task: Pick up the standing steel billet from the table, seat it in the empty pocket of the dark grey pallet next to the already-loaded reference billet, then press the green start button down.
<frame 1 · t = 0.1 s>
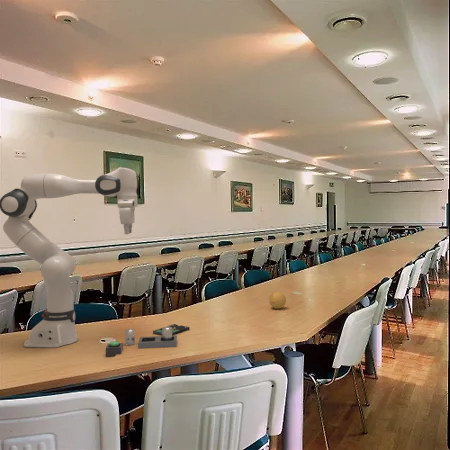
hand: (128, 233, 196), 48 cm above the table, tool pointing down, fingers open, 8 cm apart
reference billet: (167, 343, 186), point 1 cm above the table, touching pallet
start button: (114, 343, 176), point 4 cm above the table, slide at 0.0 cm
button housing: (114, 353, 176), on the table
billet: (130, 345, 187), on the table
stress ball: (277, 309, 253), on the table
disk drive: (171, 334, 205), on the table
pallet: (158, 346, 186), on the table
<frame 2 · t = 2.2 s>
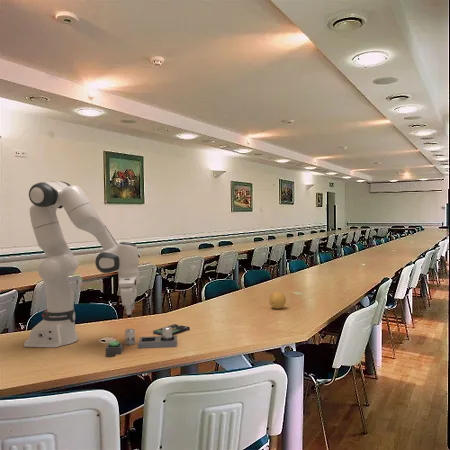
hand: (130, 311, 186), 15 cm above the table, tool pointing down, fingers open, 8 cm apart
nothing on the table moved.
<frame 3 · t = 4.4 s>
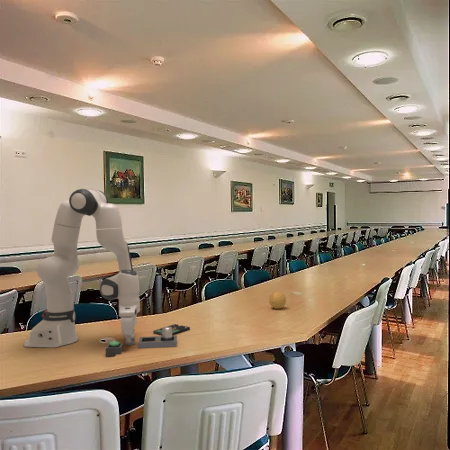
hand: (130, 339, 187), 3 cm above the table, tool pointing down, fingers closed on billet, 4 cm apart
billet: (130, 345, 187), on the table, touching gripper
everything else where it was.
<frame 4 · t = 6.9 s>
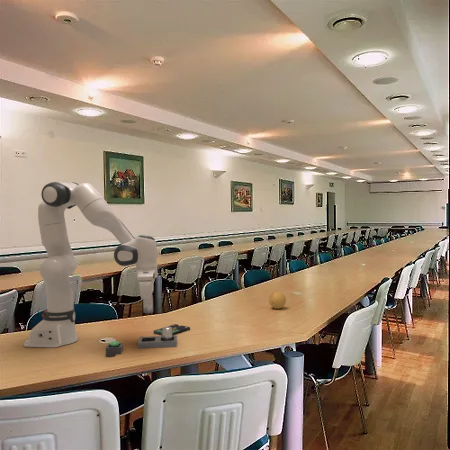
hand: (147, 305, 185), 18 cm above the table, tool pointing down, fingers closed on billet, 4 cm apart
billet: (148, 311, 185), point 15 cm above the table, touching gripper
everything else where it was.
when the fingers open (5 cm above the table, at t = 9.8 s): billet drops 1 cm, resting on pallet.
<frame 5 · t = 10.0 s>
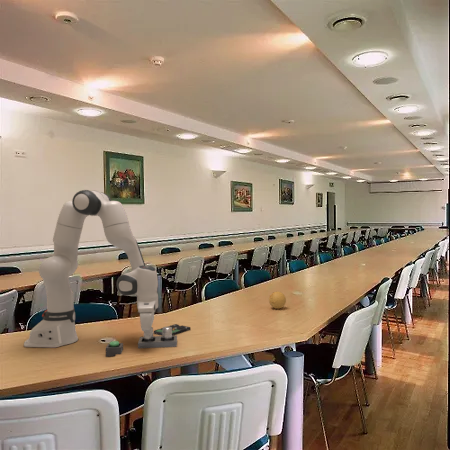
hand: (148, 335, 185), 5 cm above the table, tool pointing down, fingers open, 5 cm apart
billet: (148, 344, 185), point 1 cm above the table, touching pallet
everything else where it was.
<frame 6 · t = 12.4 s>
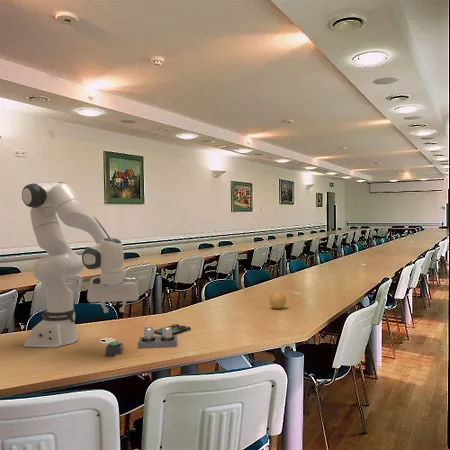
hand: (113, 312, 176), 17 cm above the table, tool pointing down, fingers open, 5 cm apart
nothing on the table moved.
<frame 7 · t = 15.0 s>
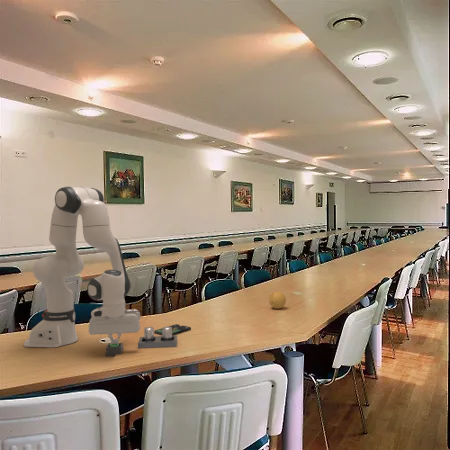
hand: (115, 343, 176), 4 cm above the table, tool pointing down, fingers closed, pressing on start button
start button: (114, 345, 176), point 3 cm above the table, slide at 0.8 cm, touching gripper
everything else where it was.
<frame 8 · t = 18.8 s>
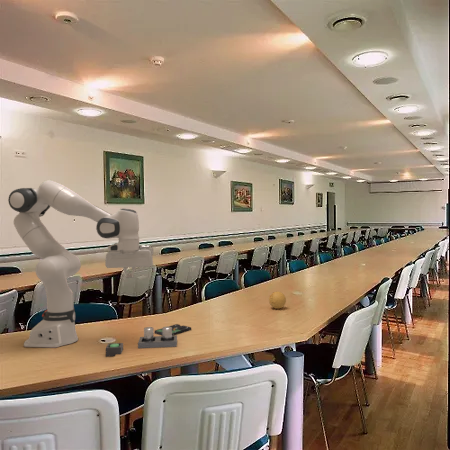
hand: (129, 277, 189), 29 cm above the table, tool pointing down, fingers closed
start button: (114, 346, 176), point 3 cm above the table, slide at 1.1 cm
everything else where it was.
at the end: billet 0.1 cm from the target spot on the pallet, point 0.9 cm above the pallet's base; billet tilted 2°; start button slide at 1.1 cm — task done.
